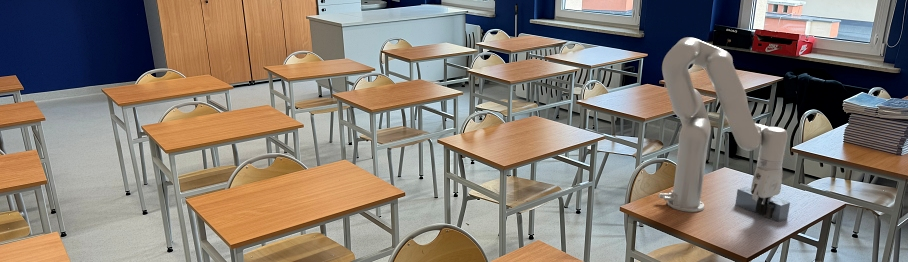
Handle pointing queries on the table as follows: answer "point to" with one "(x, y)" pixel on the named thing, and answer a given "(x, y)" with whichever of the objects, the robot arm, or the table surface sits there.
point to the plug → (769, 211)
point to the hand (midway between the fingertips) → (760, 213)
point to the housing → (748, 203)
